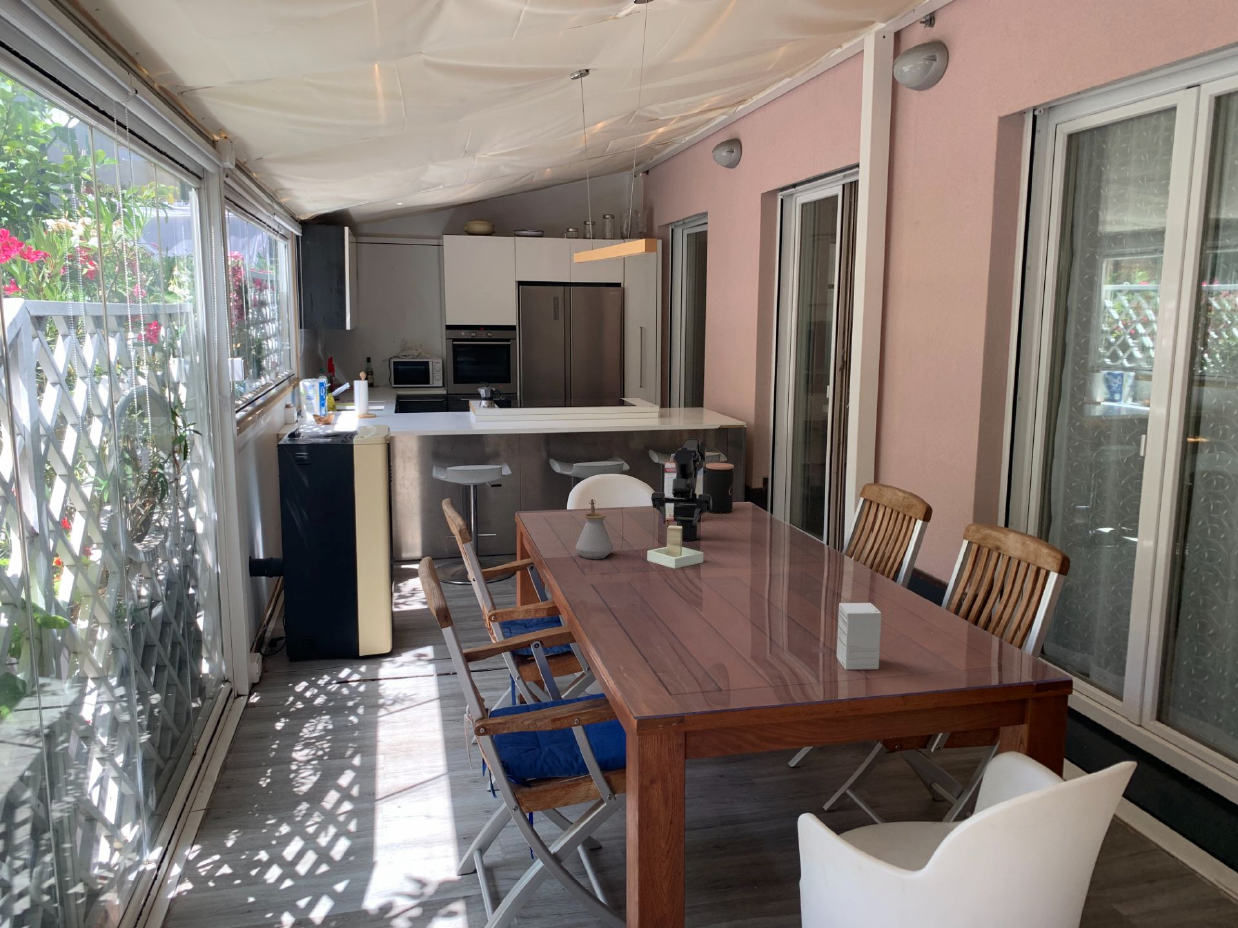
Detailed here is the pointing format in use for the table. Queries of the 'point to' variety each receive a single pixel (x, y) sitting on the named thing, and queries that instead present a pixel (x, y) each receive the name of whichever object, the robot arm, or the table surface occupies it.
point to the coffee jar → (720, 486)
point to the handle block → (674, 541)
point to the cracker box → (669, 476)
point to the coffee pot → (594, 536)
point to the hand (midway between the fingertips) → (678, 524)
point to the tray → (675, 562)
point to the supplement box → (858, 636)
